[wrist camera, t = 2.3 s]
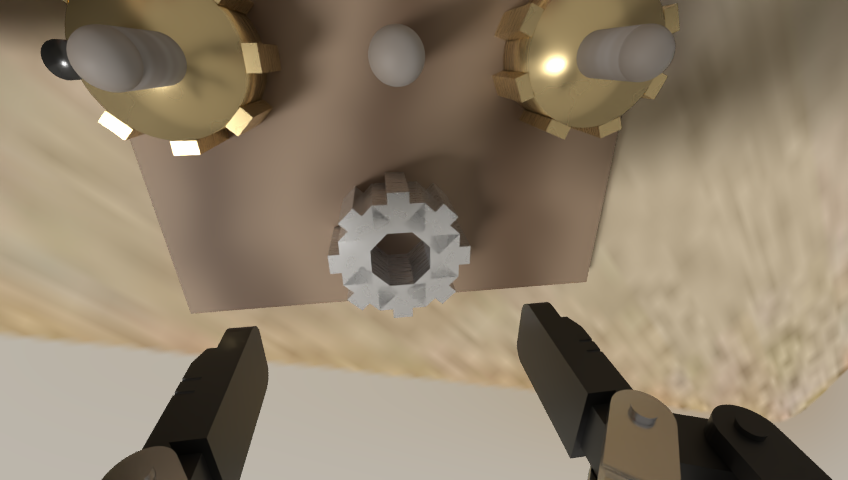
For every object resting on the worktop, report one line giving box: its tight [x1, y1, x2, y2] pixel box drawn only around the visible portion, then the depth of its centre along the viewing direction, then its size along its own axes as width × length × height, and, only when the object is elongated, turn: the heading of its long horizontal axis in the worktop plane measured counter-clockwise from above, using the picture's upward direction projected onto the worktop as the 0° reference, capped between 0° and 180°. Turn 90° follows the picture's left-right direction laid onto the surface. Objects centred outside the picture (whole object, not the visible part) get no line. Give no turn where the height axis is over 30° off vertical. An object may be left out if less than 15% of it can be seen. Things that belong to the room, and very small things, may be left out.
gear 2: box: [492, 0, 680, 140], centre depth 15 cm, size 6×6×3 cm
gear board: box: [66, 0, 675, 313], centre depth 15 cm, size 22×16×7 cm
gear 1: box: [41, 0, 281, 156], centre depth 12 cm, size 6×6×5 cm
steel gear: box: [328, 172, 471, 318], centre depth 18 cm, size 6×6×3 cm
